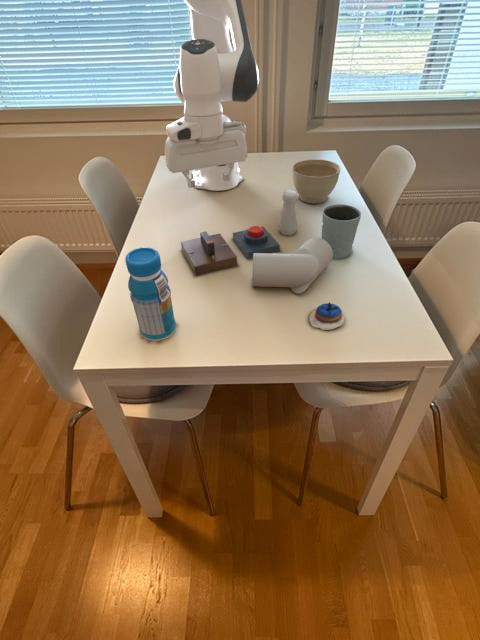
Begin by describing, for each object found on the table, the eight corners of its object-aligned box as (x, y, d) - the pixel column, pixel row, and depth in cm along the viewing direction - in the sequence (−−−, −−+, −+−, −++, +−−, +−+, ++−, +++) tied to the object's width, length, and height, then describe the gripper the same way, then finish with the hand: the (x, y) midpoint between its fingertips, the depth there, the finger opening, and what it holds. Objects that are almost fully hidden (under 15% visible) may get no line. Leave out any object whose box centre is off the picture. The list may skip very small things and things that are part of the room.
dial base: (181, 250, 117) (180, 241, 115) (220, 242, 120) (219, 232, 118) (195, 276, 107) (194, 266, 105) (237, 266, 111) (236, 256, 108)
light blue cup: (314, 256, 113) (319, 217, 105) (321, 239, 120) (326, 201, 112) (351, 262, 110) (358, 223, 102) (356, 244, 117) (363, 206, 109)
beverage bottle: (144, 347, 88) (124, 271, 74) (136, 323, 94) (116, 250, 80) (181, 335, 90) (168, 260, 77) (171, 313, 96) (157, 240, 83)
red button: (246, 232, 117) (246, 227, 116) (259, 229, 118) (259, 224, 117) (252, 239, 114) (252, 233, 113) (264, 236, 115) (264, 230, 114)
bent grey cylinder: (304, 308, 94) (339, 267, 106) (298, 269, 88) (336, 230, 100) (243, 297, 104) (281, 261, 116) (234, 261, 98) (276, 227, 111)
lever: (201, 243, 114) (199, 231, 112) (207, 242, 115) (206, 230, 112) (208, 255, 109) (207, 243, 107) (214, 254, 110) (214, 242, 107)
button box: (232, 239, 121) (232, 227, 119) (262, 232, 124) (263, 220, 121) (247, 259, 113) (247, 246, 110) (279, 251, 116) (280, 239, 113)
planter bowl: (336, 189, 146) (340, 159, 139) (336, 209, 134) (340, 177, 127) (292, 187, 148) (293, 157, 141) (288, 207, 136) (290, 175, 129)
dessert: (341, 305, 95) (345, 298, 90) (343, 332, 94) (347, 327, 88) (307, 307, 96) (309, 300, 90) (309, 334, 95) (311, 329, 89)
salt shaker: (295, 237, 121) (299, 197, 112) (277, 236, 122) (278, 195, 113) (297, 228, 125) (300, 188, 117) (279, 227, 126) (281, 187, 118)
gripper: (241, 116, 98) (242, 172, 107) (159, 127, 93) (167, 186, 102) (250, 122, 94) (251, 180, 103) (165, 135, 88) (174, 195, 97)
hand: (209, 183), depth 102 cm, fingers open, 8 cm apart
